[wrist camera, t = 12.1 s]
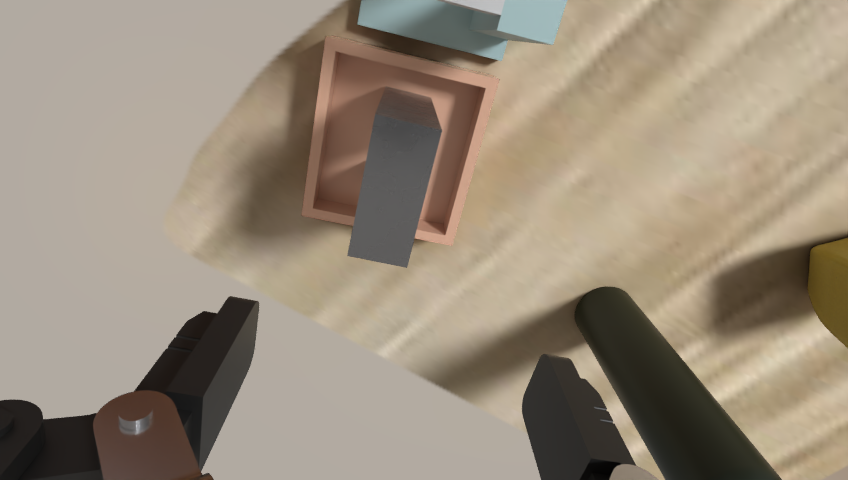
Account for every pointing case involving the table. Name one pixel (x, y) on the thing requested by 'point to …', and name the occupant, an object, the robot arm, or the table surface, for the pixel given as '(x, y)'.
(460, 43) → the peg stand
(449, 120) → the tray
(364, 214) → the grey arch block
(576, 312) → the wine bottle
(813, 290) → the flower pot
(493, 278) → the table surface
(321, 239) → the table surface
